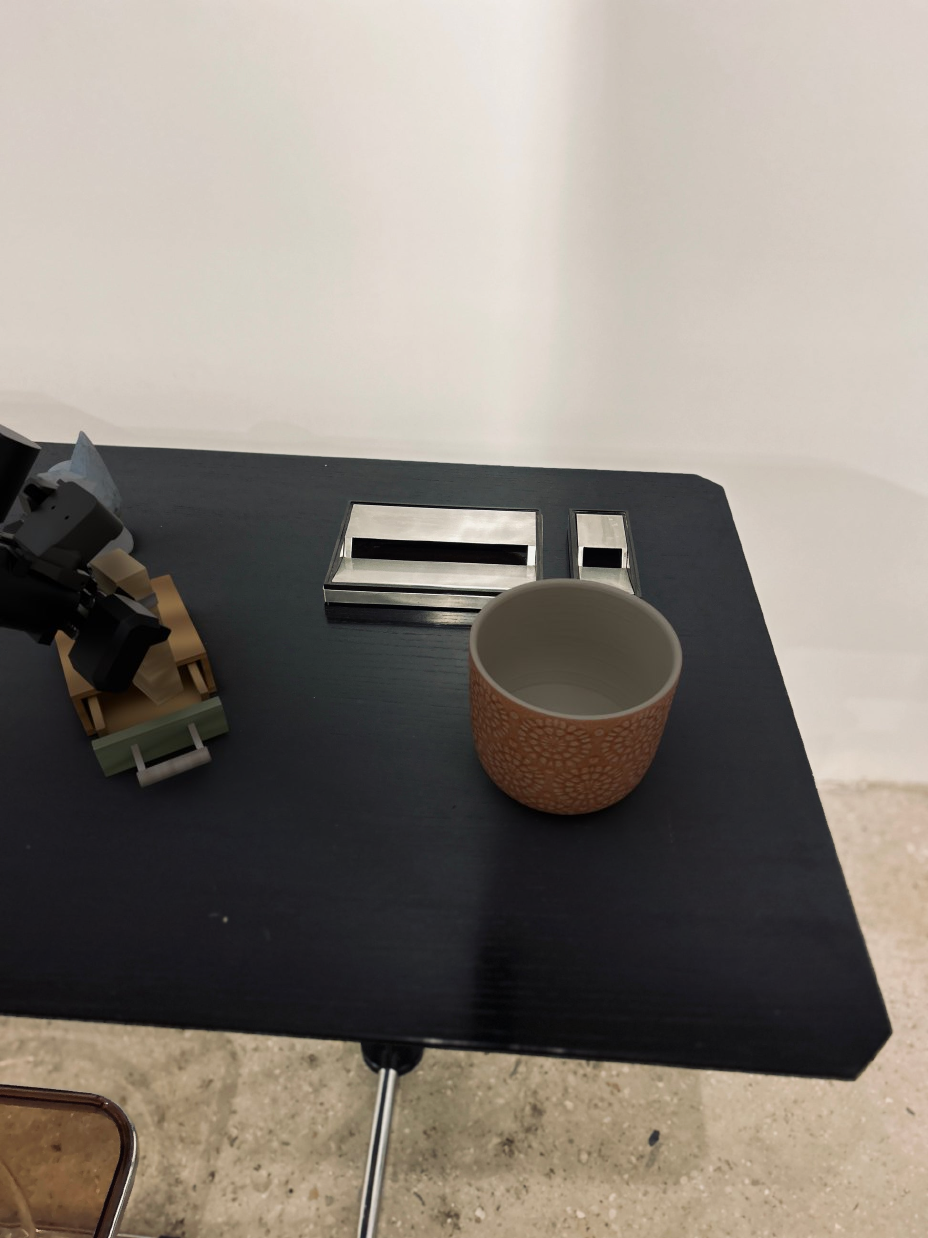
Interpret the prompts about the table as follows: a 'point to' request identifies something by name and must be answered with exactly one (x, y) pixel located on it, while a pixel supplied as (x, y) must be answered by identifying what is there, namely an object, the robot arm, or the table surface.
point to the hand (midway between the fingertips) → (154, 623)
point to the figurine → (92, 485)
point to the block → (132, 577)
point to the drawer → (156, 728)
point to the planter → (570, 692)
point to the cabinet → (180, 640)
